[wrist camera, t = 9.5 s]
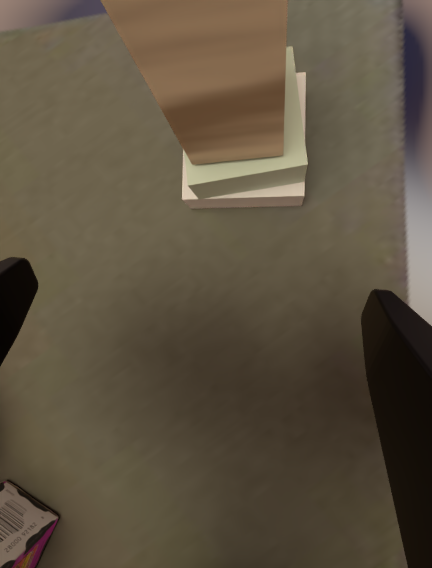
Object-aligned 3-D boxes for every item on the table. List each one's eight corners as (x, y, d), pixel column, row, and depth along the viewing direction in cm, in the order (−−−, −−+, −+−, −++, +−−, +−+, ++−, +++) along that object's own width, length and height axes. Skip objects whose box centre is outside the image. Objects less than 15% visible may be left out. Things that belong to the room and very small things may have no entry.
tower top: (303, 181, 19) (307, 164, 16) (198, 199, 20) (187, 185, 17) (290, 78, 19) (292, 45, 17) (187, 100, 20) (175, 73, 18)
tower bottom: (301, 207, 21) (304, 195, 19) (192, 210, 22) (182, 199, 20) (302, 98, 22) (305, 72, 19) (194, 106, 23) (184, 83, 20)
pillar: (283, 155, 16) (290, -125, 6) (192, 164, 17) (62, -69, 7) (279, 68, 17) (281, -328, 7) (191, 81, 18) (68, -253, 7)
